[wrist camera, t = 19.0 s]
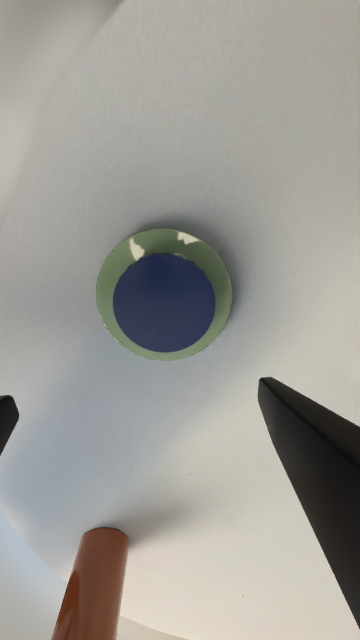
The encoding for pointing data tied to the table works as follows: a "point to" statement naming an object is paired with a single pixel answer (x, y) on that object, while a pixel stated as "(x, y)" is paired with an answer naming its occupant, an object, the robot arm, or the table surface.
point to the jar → (94, 588)
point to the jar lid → (164, 302)
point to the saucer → (164, 243)
